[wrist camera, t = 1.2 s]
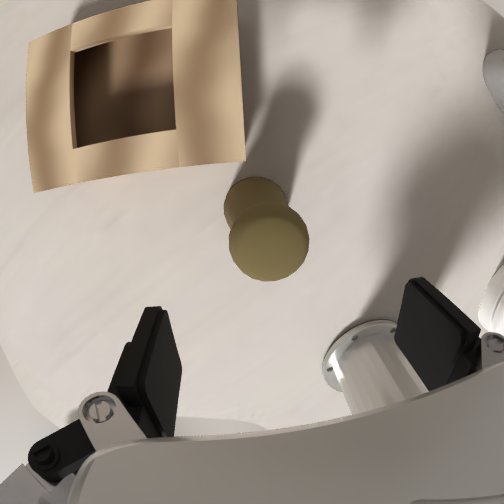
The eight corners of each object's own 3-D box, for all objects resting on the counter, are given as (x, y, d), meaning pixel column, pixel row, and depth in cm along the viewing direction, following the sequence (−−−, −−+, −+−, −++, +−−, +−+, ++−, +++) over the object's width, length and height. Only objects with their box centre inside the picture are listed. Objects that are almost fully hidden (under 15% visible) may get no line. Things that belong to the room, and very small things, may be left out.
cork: (212, 195, 27) (203, 231, 17) (270, 165, 26) (298, 183, 16) (241, 248, 29) (250, 310, 19) (297, 221, 29) (334, 269, 18)
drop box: (233, 17, 20) (236, -10, 15) (241, 156, 26) (245, 161, 20) (59, 54, 20) (28, 42, 14) (66, 181, 25) (34, 193, 19)
